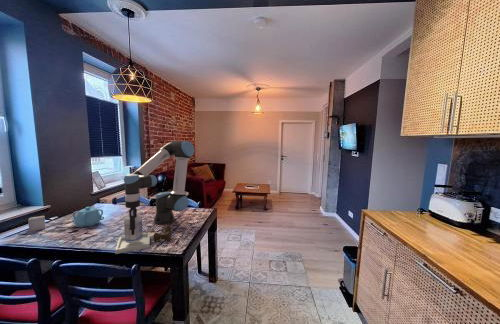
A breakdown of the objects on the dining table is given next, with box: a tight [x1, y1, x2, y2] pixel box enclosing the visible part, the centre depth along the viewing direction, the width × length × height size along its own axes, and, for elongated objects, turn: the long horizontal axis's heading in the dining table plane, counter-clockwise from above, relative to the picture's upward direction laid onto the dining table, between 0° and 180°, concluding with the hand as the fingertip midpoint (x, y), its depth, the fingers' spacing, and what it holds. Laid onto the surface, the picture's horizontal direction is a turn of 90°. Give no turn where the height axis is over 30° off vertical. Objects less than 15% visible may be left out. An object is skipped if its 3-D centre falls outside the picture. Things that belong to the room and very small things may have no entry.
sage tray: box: [114, 232, 151, 255], centre depth 124 cm, size 17×17×2 cm
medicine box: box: [27, 215, 46, 232], centre depth 142 cm, size 8×4×9 cm, turn 134°
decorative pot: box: [72, 206, 105, 228], centre depth 151 cm, size 16×16×14 cm
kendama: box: [152, 224, 172, 242], centre depth 132 cm, size 6×10×20 cm
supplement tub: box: [123, 213, 144, 243], centre depth 123 cm, size 10×10×15 cm
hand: (133, 235), depth 123 cm, fingers closed on supplement tub, 10 cm apart
